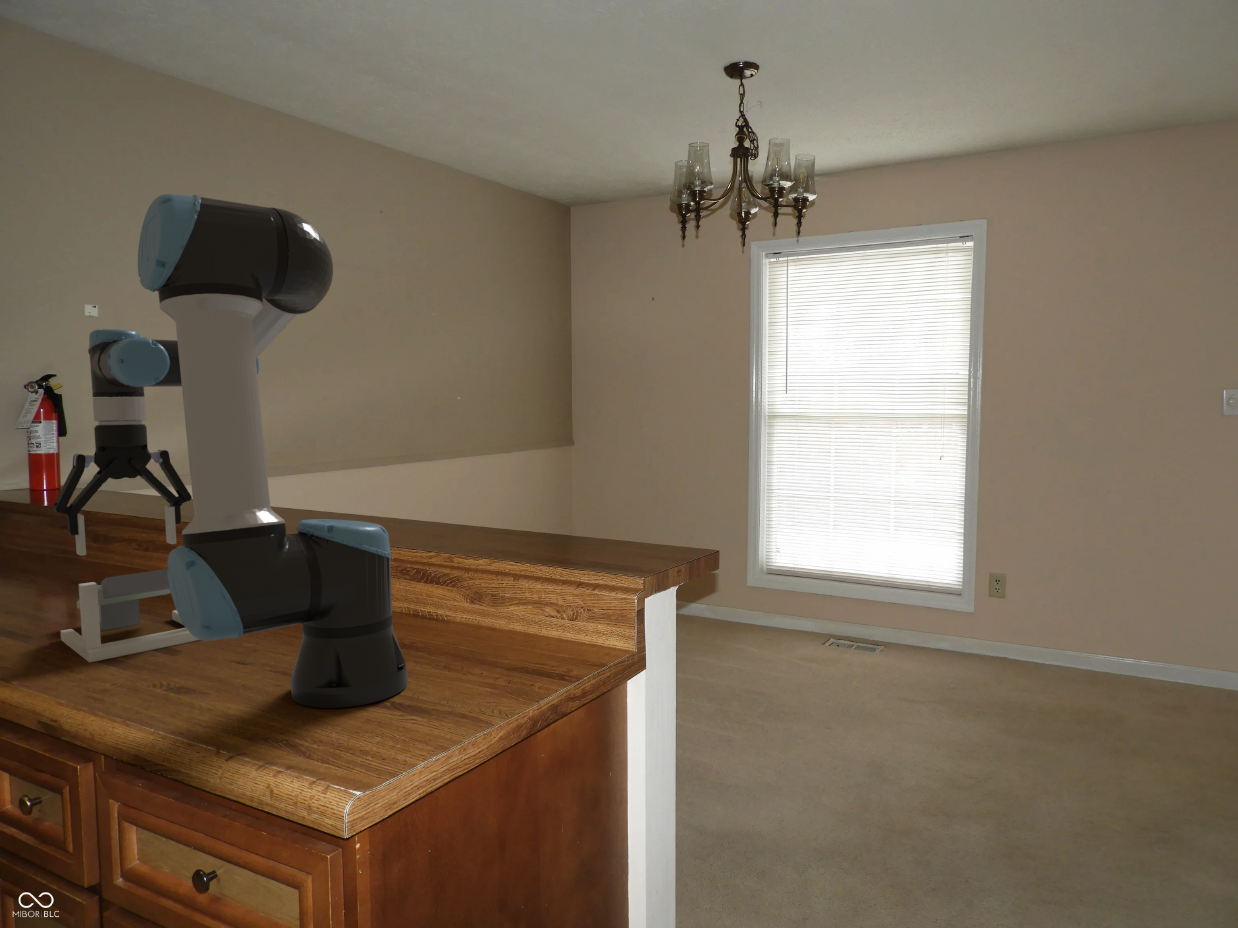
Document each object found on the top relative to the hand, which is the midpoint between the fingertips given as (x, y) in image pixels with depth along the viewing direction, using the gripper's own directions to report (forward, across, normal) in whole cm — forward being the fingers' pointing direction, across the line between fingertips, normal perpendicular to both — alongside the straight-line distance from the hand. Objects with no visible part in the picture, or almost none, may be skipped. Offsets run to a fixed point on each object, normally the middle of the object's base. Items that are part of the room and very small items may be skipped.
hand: (128, 548), depth 140 cm
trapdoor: (+8, 0, +5) cm, 9 cm away
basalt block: (+8, 0, -9) cm, 12 cm away
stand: (+15, 0, +4) cm, 15 cm away
